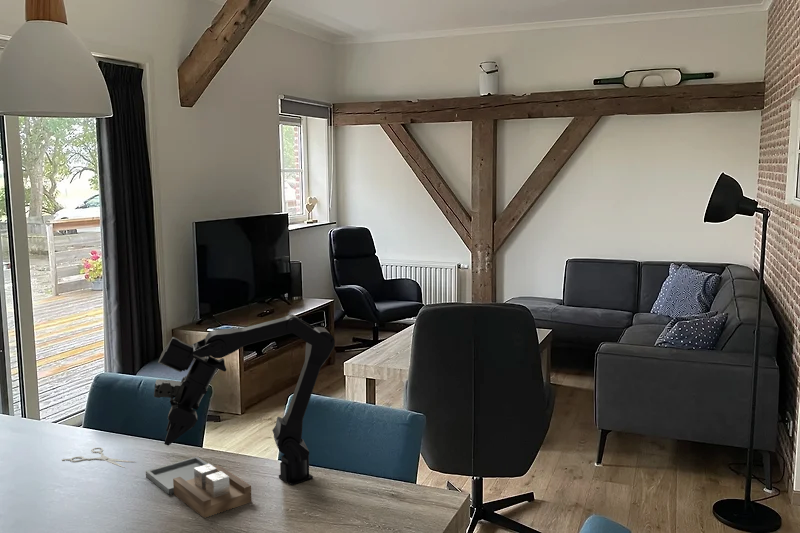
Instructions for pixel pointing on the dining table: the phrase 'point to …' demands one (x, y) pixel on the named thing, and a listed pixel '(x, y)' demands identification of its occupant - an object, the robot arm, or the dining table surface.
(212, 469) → the grey metal cube
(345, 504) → the dining table surface
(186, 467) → the tray
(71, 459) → the scissors
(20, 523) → the dining table surface
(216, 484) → the brushed metal block
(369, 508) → the dining table surface
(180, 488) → the slot block
